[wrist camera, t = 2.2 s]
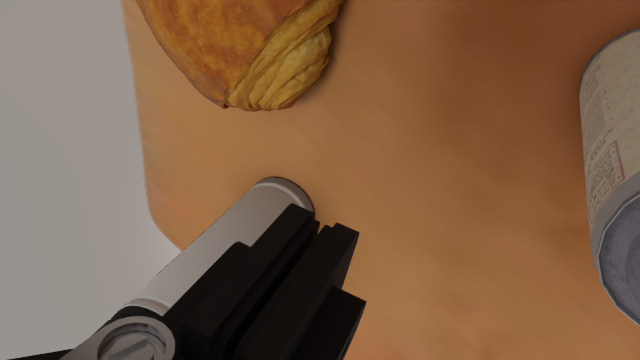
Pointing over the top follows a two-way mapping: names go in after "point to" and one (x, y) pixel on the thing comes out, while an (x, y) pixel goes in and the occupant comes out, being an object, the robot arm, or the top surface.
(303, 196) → the travel mug
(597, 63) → the aerosol can
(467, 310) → the top surface
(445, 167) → the top surface
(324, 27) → the croissant
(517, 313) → the top surface
